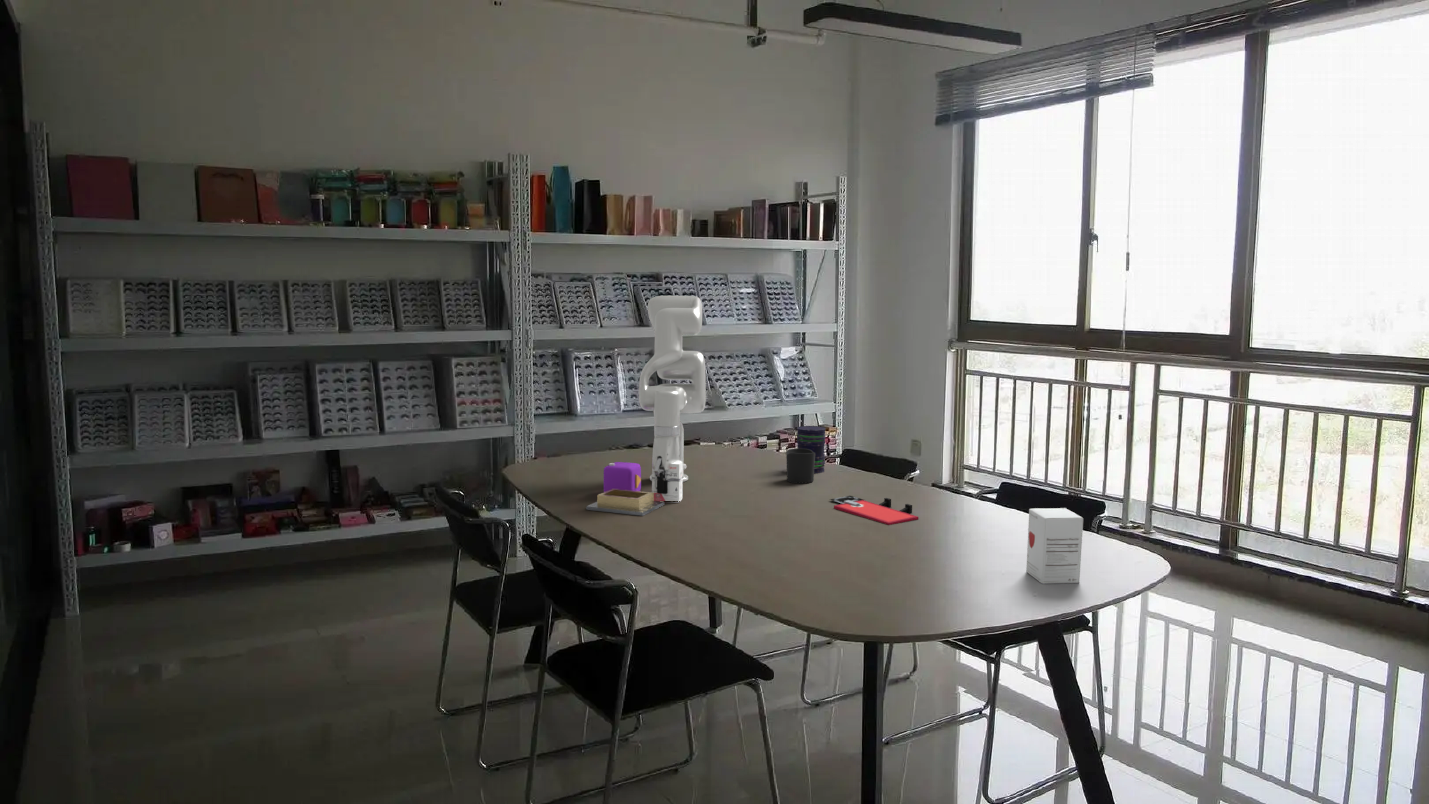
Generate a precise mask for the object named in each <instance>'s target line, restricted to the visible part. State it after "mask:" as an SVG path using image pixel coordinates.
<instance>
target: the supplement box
mask: <svg viewBox="0 0 1429 804" xmlns="http://www.w3.org/2000/svg"><path fill="white" fill-rule="evenodd" d="M1083 528H1084V518H1083V517H1082V516H1080V515H1079V514H1077V513H1075V512H1073V511H1071V510H1070V509H1067V507H1060V508H1058V507H1057V508H1054V507H1053V508H1051V507H1050V508H1044V507H1043V508H1038V507H1037V508H1036V507H1035V508H1029V509H1028V528H1027V530H1028V531H1027V547H1026V548H1027V552H1026V567H1025V568H1026V569H1025V570H1026V571H1025V572H1026V573H1028V574H1029V575H1030V576H1032V577H1033V578H1034V579H1036V580H1037V581H1038V582H1039V583H1040V584H1042V585H1043V584H1045V585H1046V584H1049V585H1050V584H1080V581H1081V580H1080V577H1081V561H1082V545H1083V544H1082V543H1083V532H1084V531H1083V530H1084V529H1083Z"/></svg>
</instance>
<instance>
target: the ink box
mask: <svg viewBox="0 0 1429 804" xmlns="http://www.w3.org/2000/svg"><path fill="white" fill-rule="evenodd" d="M660 469H661V470H664V468H660ZM651 470H652V471H651V475H652V481H651V492H652V493H654V501H678V502H677V503H680V502H681V501H682V500H683V486H684V485H683V483H684V482H683V462H682V461H679V460H678V461H676V462H674V463H672V464H671V468H670V470H668V471H667V478H666V480H668V493H667V494H661V493H657V480H656V474H655V472H654V470H653V468H652V467H651ZM661 473H662V474H663V475H664V472H661ZM679 501H680V502H679Z"/></svg>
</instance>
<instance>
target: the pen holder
mask: <svg viewBox="0 0 1429 804" xmlns="http://www.w3.org/2000/svg"><path fill="white" fill-rule="evenodd" d="M785 456H786V480H787V482H788V483H792V484H802V485H803V484H810V483H813V482H814V479H815V473H814V467H815V453H814V452H813V451H812V450H809V449H798V448H789V449H787V450H786V453H785Z"/></svg>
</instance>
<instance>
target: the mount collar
mask: <svg viewBox="0 0 1429 804" xmlns="http://www.w3.org/2000/svg"><path fill="white" fill-rule="evenodd" d="M596 498H597V500H596V501H595V502H593V503H591V504H588V505H586V506H585V507H586V509H585V510H586V511H595V512H596V511H597V512H605V513H613V514H623V515H632V516H641V517H644V516H645V515H648V514H650V513H652V512H654V511H655V509H656V510H657V509H659V507H660V508H662V507H664V506H665V502H660V501H654V493H652V491H651V492H649V491H641V490H640V491H632V490H622V489H611V490H608V491H606V492H604V491H603V492H601V493H598V494H597V497H596ZM663 505H664V506H663ZM661 506H662V507H661ZM653 510H654V511H653ZM651 511H652V512H651Z"/></svg>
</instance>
